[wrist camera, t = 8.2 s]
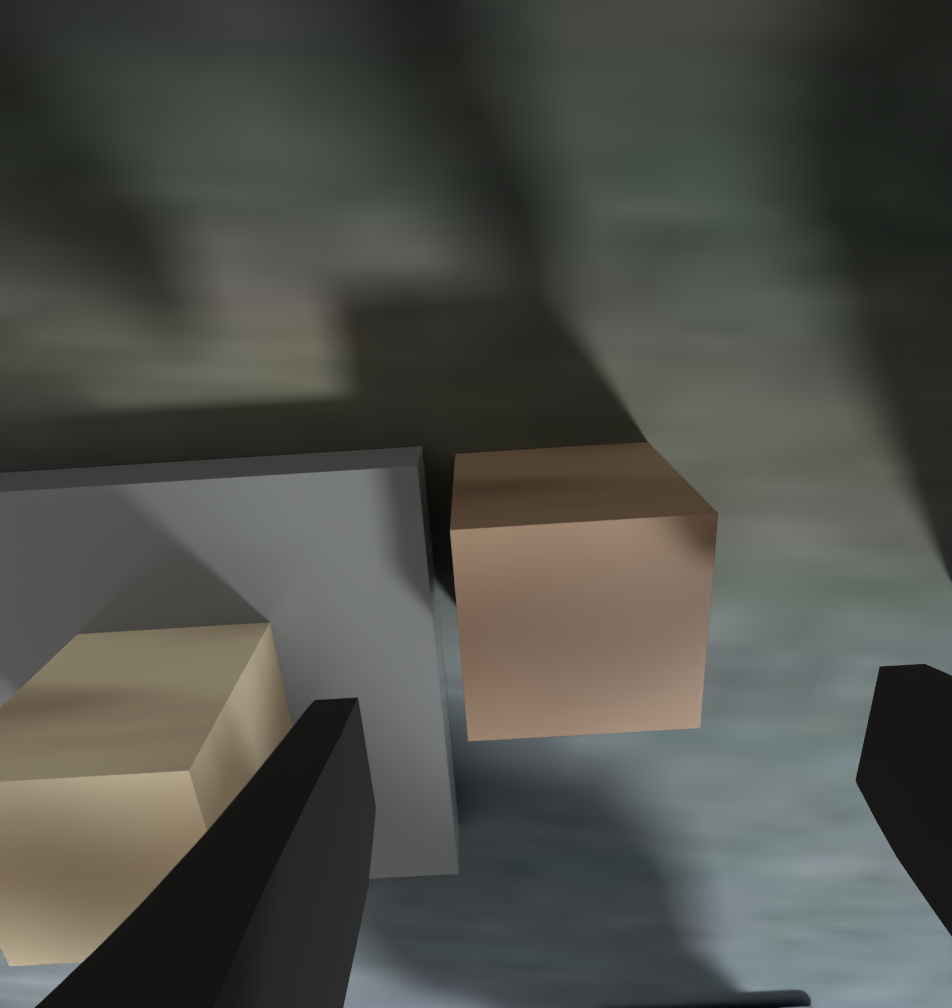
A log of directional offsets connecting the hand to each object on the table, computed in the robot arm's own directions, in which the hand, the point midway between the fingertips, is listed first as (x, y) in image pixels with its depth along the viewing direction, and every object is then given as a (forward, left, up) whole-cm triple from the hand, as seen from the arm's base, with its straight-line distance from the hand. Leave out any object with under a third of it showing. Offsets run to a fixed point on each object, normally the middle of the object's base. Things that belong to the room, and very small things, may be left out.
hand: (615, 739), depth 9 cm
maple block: (-3, +9, -6) cm, 11 cm away
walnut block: (0, 0, -7) cm, 7 cm away
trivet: (-4, +9, -7) cm, 12 cm away
